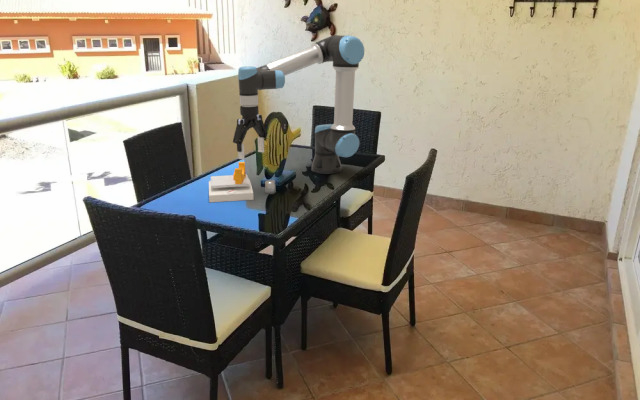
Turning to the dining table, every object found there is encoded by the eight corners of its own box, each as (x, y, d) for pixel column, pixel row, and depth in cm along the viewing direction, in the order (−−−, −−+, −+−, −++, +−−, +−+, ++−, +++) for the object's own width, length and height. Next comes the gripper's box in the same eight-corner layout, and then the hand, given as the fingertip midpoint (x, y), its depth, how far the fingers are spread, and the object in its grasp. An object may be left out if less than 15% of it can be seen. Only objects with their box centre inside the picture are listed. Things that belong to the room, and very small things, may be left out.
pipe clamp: (236, 176, 219) (235, 161, 217) (245, 176, 219) (245, 162, 217) (231, 184, 208) (230, 169, 206) (241, 184, 208) (240, 169, 206)
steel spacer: (274, 190, 217) (274, 179, 216) (276, 193, 213) (275, 182, 212) (264, 191, 217) (264, 180, 215) (265, 194, 213) (265, 183, 211)
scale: (249, 185, 224) (249, 173, 223) (253, 199, 206) (253, 187, 204) (209, 187, 221) (208, 175, 219) (209, 202, 202) (208, 189, 201)
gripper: (260, 100, 215) (262, 148, 222) (221, 108, 195) (225, 160, 202) (274, 102, 212) (275, 150, 219) (236, 110, 191) (239, 163, 198)
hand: (251, 155), depth 210 cm, fingers open, 13 cm apart
